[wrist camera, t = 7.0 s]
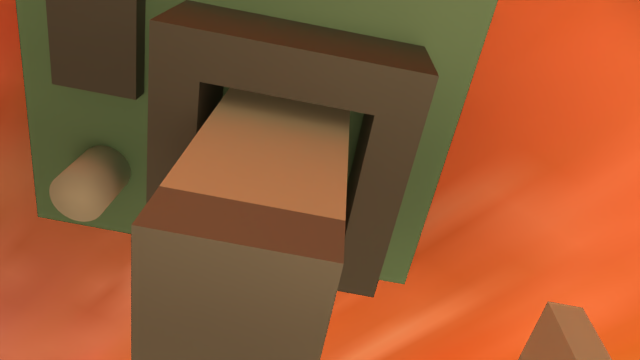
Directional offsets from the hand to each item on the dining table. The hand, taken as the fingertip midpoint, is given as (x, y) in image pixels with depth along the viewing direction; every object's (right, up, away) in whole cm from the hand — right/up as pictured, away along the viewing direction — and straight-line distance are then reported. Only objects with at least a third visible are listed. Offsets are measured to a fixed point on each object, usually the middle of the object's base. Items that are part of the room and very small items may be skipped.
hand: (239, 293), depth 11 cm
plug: (+1, +4, +8) cm, 9 cm away
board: (-1, +5, +9) cm, 10 cm away
